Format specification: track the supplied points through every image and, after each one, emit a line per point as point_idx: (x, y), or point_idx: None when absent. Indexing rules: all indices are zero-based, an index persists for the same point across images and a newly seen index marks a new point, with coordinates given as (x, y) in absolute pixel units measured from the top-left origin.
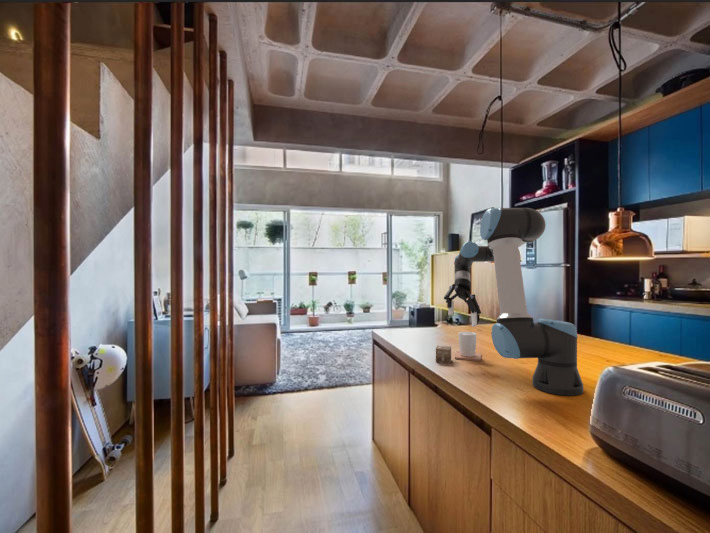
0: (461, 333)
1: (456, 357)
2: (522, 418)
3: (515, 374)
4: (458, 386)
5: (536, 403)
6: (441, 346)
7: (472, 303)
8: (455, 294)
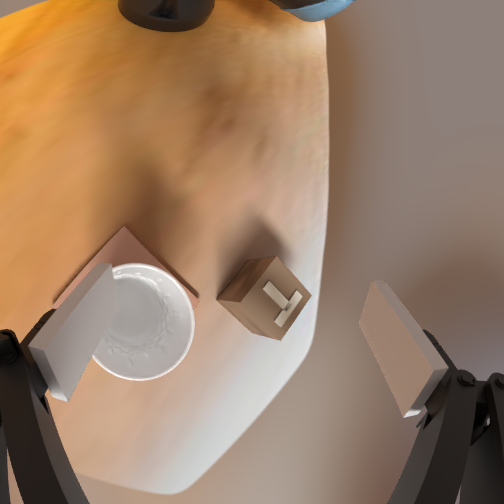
0: (145, 373)
1: (195, 297)
2: None
3: (152, 75)
4: (327, 116)
5: (262, 12)
6: (280, 313)
7: (32, 470)
8: (458, 484)
